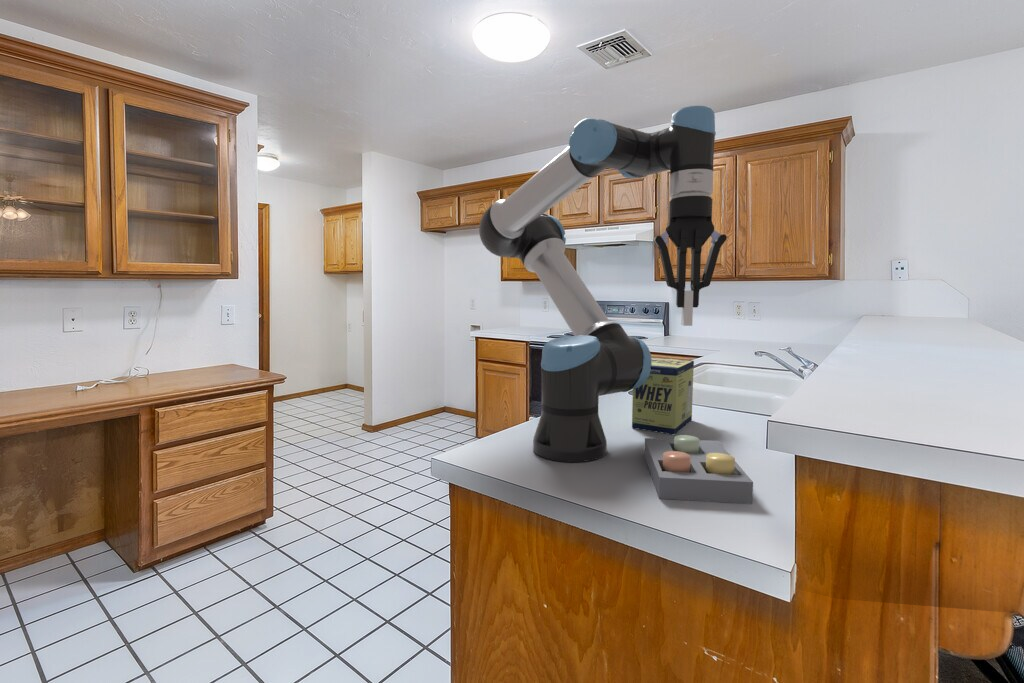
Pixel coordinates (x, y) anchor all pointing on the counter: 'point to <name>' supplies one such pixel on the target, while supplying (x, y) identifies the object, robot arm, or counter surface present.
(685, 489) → the console
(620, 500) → the counter surface
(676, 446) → the sage button
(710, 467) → the mustard button
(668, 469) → the terracotta button
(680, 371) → the protein box
